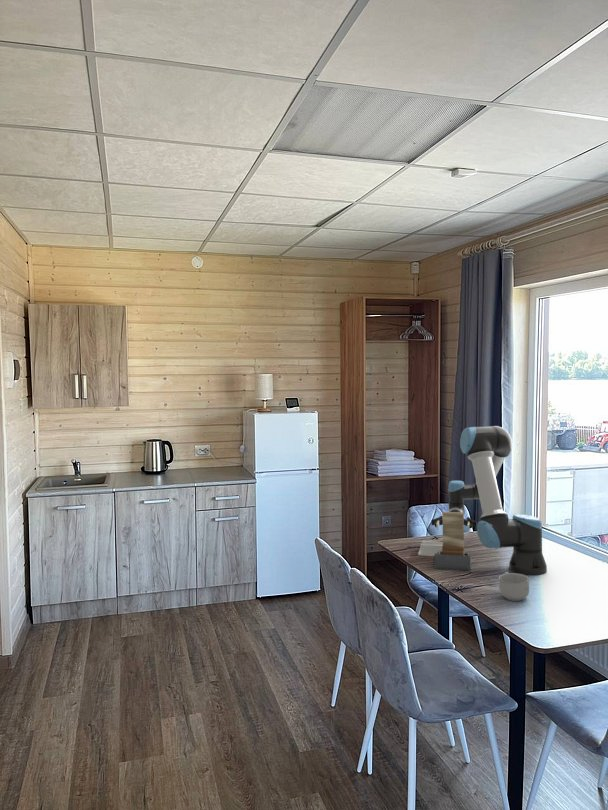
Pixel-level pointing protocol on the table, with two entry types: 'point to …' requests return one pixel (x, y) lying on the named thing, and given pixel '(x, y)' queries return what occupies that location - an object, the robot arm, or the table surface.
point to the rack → (452, 561)
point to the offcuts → (453, 550)
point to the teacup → (514, 586)
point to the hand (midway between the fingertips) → (452, 527)
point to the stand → (430, 548)
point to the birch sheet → (453, 528)
